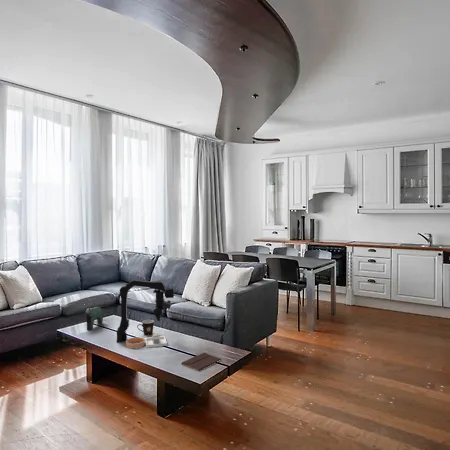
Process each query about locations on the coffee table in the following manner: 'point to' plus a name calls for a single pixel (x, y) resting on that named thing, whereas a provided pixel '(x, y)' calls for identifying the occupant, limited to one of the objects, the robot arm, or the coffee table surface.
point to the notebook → (200, 361)
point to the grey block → (155, 340)
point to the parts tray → (150, 344)
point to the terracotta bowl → (135, 342)
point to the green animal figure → (94, 316)
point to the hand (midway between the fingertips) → (159, 319)
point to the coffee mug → (147, 327)
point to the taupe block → (154, 336)
